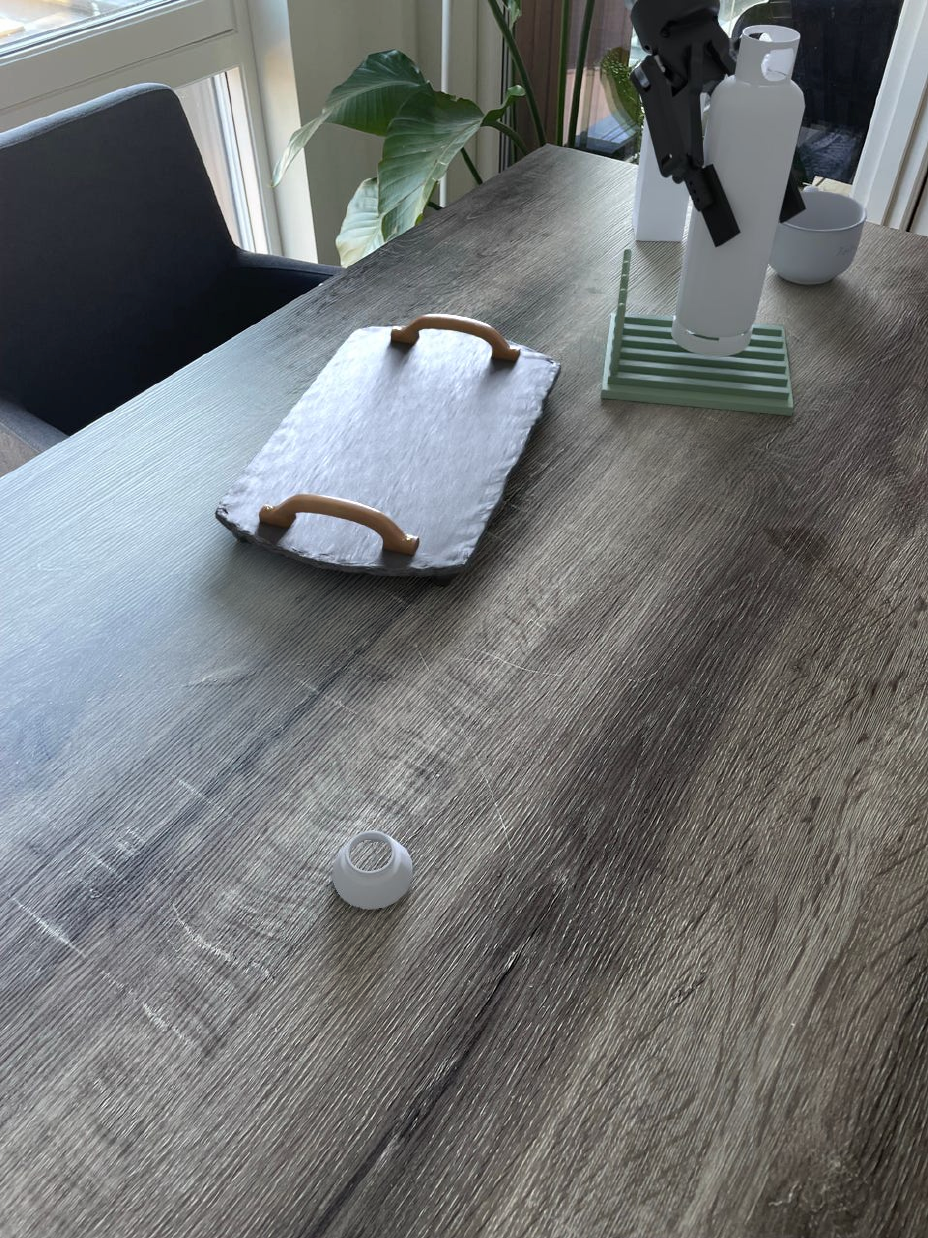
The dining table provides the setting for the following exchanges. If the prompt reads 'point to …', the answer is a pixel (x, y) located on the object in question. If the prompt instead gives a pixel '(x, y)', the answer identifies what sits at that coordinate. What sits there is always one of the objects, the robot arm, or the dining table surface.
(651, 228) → the milk
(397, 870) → the grey flared ring
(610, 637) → the dining table surface
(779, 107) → the bottle
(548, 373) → the serving tray
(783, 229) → the teacup
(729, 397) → the rack
